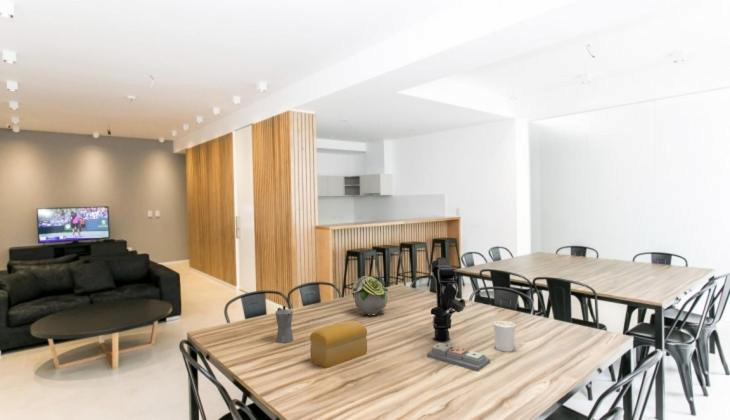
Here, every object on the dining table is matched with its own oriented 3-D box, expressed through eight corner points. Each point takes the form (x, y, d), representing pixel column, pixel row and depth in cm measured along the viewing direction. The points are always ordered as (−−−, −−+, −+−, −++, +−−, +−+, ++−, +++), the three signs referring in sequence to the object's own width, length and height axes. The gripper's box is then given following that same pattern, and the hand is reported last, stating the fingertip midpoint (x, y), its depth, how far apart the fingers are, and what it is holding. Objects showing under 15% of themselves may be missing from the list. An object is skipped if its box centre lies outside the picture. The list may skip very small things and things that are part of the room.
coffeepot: (298, 341, 204) (297, 307, 204) (280, 345, 199) (280, 310, 199) (286, 333, 217) (286, 301, 217) (270, 337, 212) (269, 304, 211)
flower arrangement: (345, 311, 259) (345, 274, 259) (379, 306, 270) (379, 271, 269) (361, 321, 237) (360, 281, 236) (397, 316, 247) (397, 277, 247)
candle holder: (501, 353, 185) (501, 328, 185) (489, 346, 194) (489, 321, 194) (519, 351, 187) (519, 325, 187) (507, 343, 197) (506, 320, 197)
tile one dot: (464, 360, 173) (464, 354, 173) (471, 356, 178) (471, 350, 178) (477, 364, 169) (477, 357, 169) (483, 359, 174) (483, 353, 174)
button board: (427, 356, 182) (427, 349, 182) (440, 349, 191) (440, 341, 191) (477, 371, 166) (477, 363, 166) (490, 362, 175) (489, 354, 175)
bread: (350, 346, 196) (350, 316, 196) (368, 354, 187) (367, 322, 187) (309, 360, 180) (309, 328, 180) (326, 369, 170) (326, 334, 170)
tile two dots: (433, 351, 184) (433, 346, 184) (440, 347, 188) (439, 342, 188) (444, 354, 180) (444, 349, 180) (451, 351, 184) (451, 345, 184)
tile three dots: (448, 356, 178) (448, 350, 178) (455, 352, 183) (455, 346, 183) (460, 359, 174) (460, 353, 174) (467, 355, 179) (467, 349, 179)
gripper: (451, 300, 173) (451, 335, 174) (471, 292, 187) (471, 324, 188) (429, 296, 181) (430, 329, 181) (450, 288, 195) (451, 320, 195)
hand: (446, 326), depth 186 cm, fingers closed
